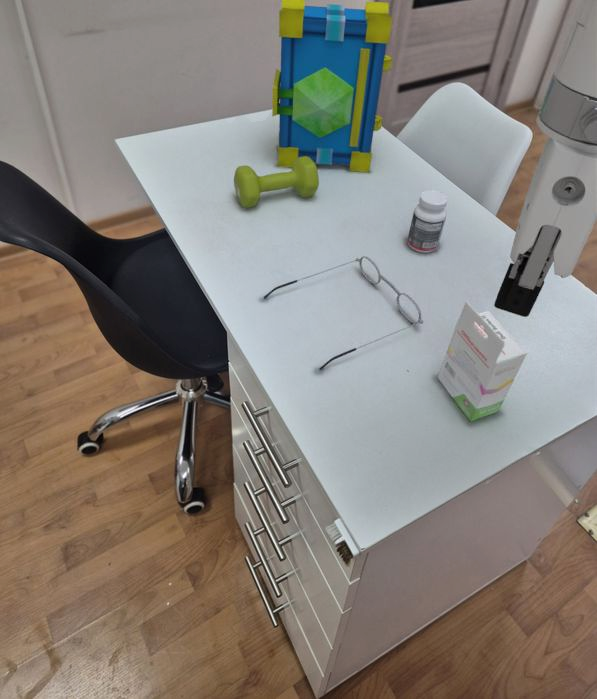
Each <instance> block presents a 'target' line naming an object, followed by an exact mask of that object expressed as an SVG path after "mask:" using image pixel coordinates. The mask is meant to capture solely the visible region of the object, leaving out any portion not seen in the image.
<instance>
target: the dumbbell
mask: <svg viewBox="0 0 597 699" xmlns="http://www.w3.org/2000/svg"><path fill="white" fill-rule="evenodd" d="M319 185H320V178H319V170H318V166H317V164H316V163H314V162H313V161H312V159H311V158H309V157H308V156H303V157H299V158H298V159H297V160H296V161H295V163H294V165H293V167H291V171H286V172H285V171H284V172H277V173H276V172H275V173H269V174H266V175H261V176H260V175H258V174H257V173H256V172H255V170H254V168H252V167H251V166H249V165H238V166H237V167H236V168H235V170H234V176H233V186H234V193H235V196H236V199H237V200H238V202H239V203H240V205H241V206H242V207H243V208H245V209H249V208H253V207H255V206H256V205H257V204H258V202H259V200H260V197H261V194H262V193H266V192H274V191H279V190H286V189H290V188H294V189H295V191H296V192H297V194H298V195H300V196H301V197H302V198H310V197H312V196H315V194H316V192H317V190H318V189H319Z"/></svg>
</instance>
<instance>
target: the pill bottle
mask: <svg viewBox="0 0 597 699" xmlns="http://www.w3.org/2000/svg"><path fill="white" fill-rule="evenodd" d="M447 204H448V197H447V195H445V194H444V193H442V192H440V191H438V190H433V189H432V190H431V189H430V190H424V191H422V193H421V194H420V196H419V199H418V204H416V206H415V208H414V210H413V213H412V218H411V223H410V227H409V230H408V236H407V245H408V246H409V247H410V249H412V250H414V251H415V252H418V253H421V254H422V253H427V254H428V253H432V252H434V251H436V250H437V249H438V247H439V244H440V240H441V236H442V234H443V229H444V226H445V223H446V219H447V213H448V212H447V210H446V208H447Z"/></svg>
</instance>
